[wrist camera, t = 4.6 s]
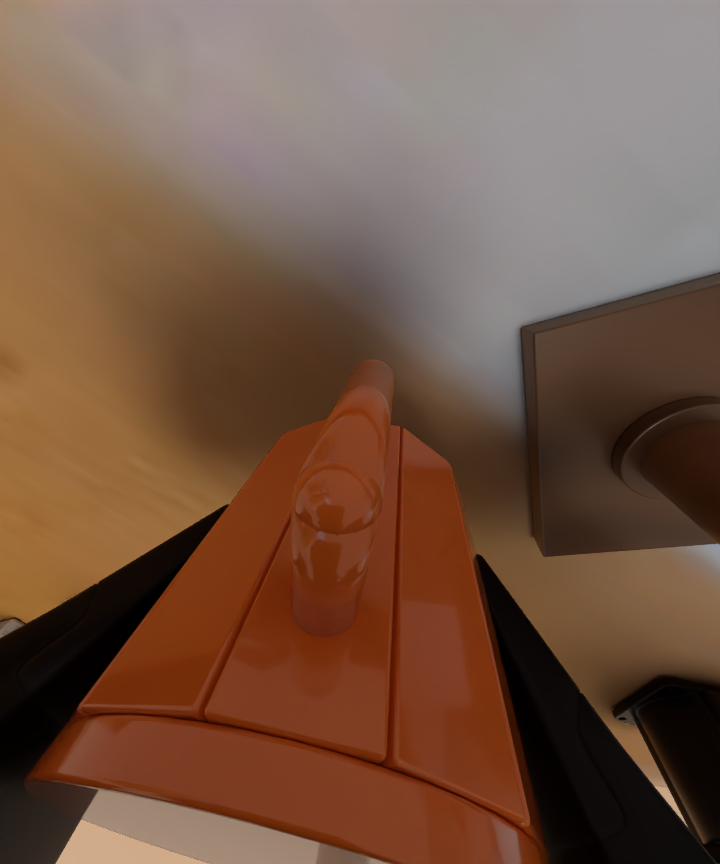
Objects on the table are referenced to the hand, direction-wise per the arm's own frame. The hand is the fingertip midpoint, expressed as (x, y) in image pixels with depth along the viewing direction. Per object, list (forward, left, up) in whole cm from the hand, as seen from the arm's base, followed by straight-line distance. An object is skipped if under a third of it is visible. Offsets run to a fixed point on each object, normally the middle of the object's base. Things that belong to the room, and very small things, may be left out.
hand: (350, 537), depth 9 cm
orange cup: (+1, 0, -1) cm, 2 cm away
